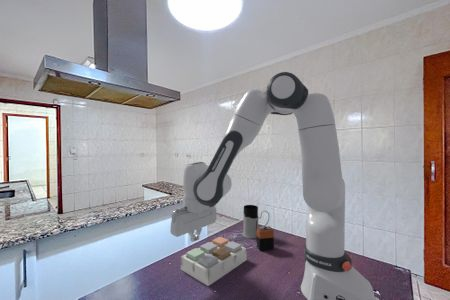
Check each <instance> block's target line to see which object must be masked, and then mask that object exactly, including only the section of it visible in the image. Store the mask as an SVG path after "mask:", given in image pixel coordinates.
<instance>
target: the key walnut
mask: <svg viewBox="0 0 450 300" xmlns="http://www.w3.org/2000/svg"><path fill="white" fill-rule="evenodd" d="M212 255H213V256H215V257H217V258H218V259H219V260H221V261H222V260H224V259H226V258H227V257H229V256H230V251H229V250H227V249H225V248H222V247H220V248H218V249H216V250H214V251H212Z"/></svg>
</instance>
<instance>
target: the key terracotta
mask: <svg viewBox="0 0 450 300" xmlns="http://www.w3.org/2000/svg"><path fill="white" fill-rule="evenodd" d="M228 241H229V239H227V238H224V237H222V236H218V237H216V238H214V239H212V240H211V242H212V243H213V244H215V245H217V247H219V248H220V247H224V245H226V244H228Z"/></svg>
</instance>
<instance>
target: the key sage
mask: <svg viewBox="0 0 450 300" xmlns="http://www.w3.org/2000/svg"><path fill="white" fill-rule="evenodd" d="M198 248H199V247H198ZM198 248H197V247H196V248H193V249H191V250H189V251H187V252H185V254H186V257H187V258H189V259H190V260H192V261H194V262H195V261H197V260H198V259H199V258H201V257H203V256H205V252H204V251H202V250H200V249H198Z"/></svg>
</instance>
